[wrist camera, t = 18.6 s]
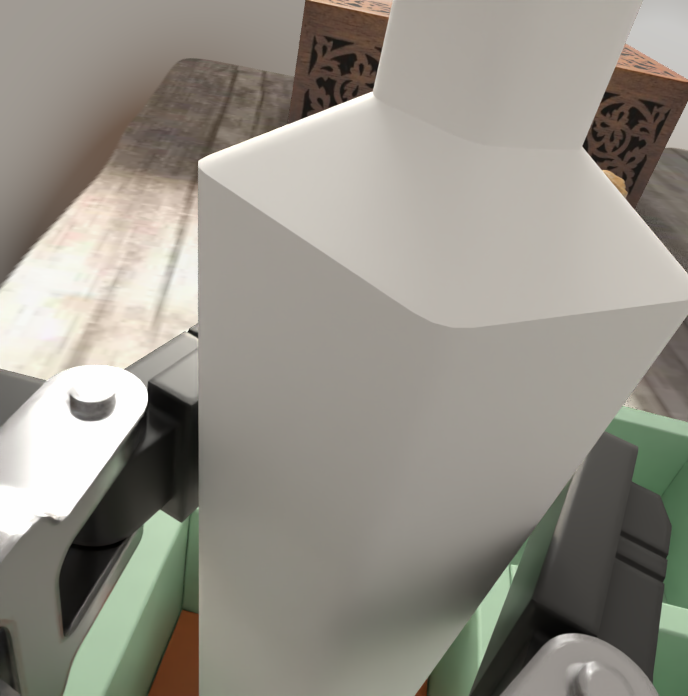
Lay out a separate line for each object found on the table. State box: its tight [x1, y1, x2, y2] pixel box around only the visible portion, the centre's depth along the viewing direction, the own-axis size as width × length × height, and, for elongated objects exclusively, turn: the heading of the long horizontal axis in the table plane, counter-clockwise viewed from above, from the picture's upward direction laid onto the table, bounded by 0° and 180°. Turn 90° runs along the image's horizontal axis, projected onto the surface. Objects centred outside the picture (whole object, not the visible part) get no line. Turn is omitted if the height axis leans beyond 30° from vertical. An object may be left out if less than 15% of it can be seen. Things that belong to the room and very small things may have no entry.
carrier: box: [63, 406, 688, 696], centre depth 16 cm, size 15×15×5 cm
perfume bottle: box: [198, 0, 688, 696], centre depth 9 cm, size 5×4×15 cm
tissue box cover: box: [288, 0, 688, 209], centre depth 49 cm, size 26×14×10 cm, turn 91°
